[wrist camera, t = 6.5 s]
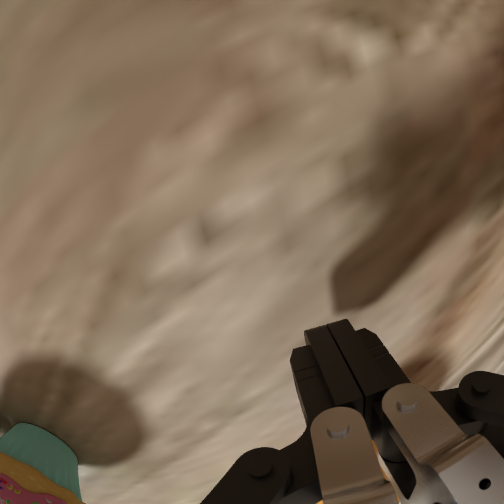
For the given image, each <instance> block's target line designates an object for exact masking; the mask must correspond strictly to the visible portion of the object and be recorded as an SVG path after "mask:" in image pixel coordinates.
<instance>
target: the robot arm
mask: <svg viewBox="0 0 504 504" xmlns="http://www.w3.org/2000/svg"><path fill="white" fill-rule="evenodd" d="M304 336H305V342H306V346H303V347H299V348H295V349H293V351H292V355H291V358H290V363H291V368H292V372H293V377H294V382H295V386H296V391H297V394H298V398H299V401H300V405H301V408H302V411H303V415H304V418H305V422H306V425H307V427H306V430H305V432H304V433H303V435H302V436H301V437H300V438H299V439H298V440H297V441H295V442H294V443H292V444H290V445H289V446H287V447H285V448H283V449H281V450H277V449H274V448H269V447H261V448H256V449H252V450H250V451H248V452H246V453H244V454H243V455H242V456H240V457H239V458H238V460H237V461H236V462H235V463H234V464H233V466H232V467H231V468H230V469H229V471H228V472H227V473H226V474H225V475H224V477H223V478H222V479H221V480H220V481H219V483H218V484H217V485H216V486H215V487H214V488H213V490H212V491H211V492H210V493H209V494H208V495H207V496H206V498H205V499H204V500H203V501H202V502H201V503H200V504H317V503H318V502H320V501H322V500H323V504H399V502H398V499H397V496H398V498H399V499H400V501H401V504H504V375H499V374H495V373H491V372H486V371H475V372H472V373H469V374H467V375H466V376H465V377H464V378H463V379H462V380H461V382H460V384H459V387H458V388H454V389H448V390H443V391H436V392H430V391H428V390H427V389H426V388H424V387H423V386H421V385H418V384H414V383H411V382H410V381H409V379H408V378H407V377H406V375H405V374H404V372H403V371H402V370H401V368H400V367H399V365H398V364H397V362H396V361H395V360H394V358H393V357H392V356H391V354H389V351H388V350H387V349H386V347H385V346H383V343H382V342H381V340H380V339H379V338H378V336H377V335H376V334H375V333H373V332H371V331H369V330H367V329H366V328H363V329H360V330H357V331H355V330H354V328H353V327H352V325H351V324H350V322H349V321H348V319H343V320H340V321H336V322H333V323H330V324H326V326H325V325H323V326H319V327H316V328H312V329H309V330H305V331H304ZM372 440H374V443H375V445H376V447H377V455H376V452H375V449H374V446H373V443H372ZM380 466H381V467H382V469H383V471H384V473H385V474H386V476H387V478H388V480H389V481H388V480H386V479H385V478H384V475H383V473H382V470H381V467H380ZM395 492H396V493H395ZM396 494H397V496H396Z"/></svg>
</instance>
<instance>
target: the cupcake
mask: <svg viewBox="0 0 504 504" xmlns="http://www.w3.org/2000/svg"><path fill="white" fill-rule="evenodd" d="M0 504H85V503H83V502H82V498H81V493H80V487H79V479H78V461H77V457H76V456H75V454H74V452H73V451H72V450H71V449H70V448H69V447H68V446H67V445H66V444H65V443H64V442H63V441H61V440H60V439H59V438H57V437H56V436H54V435H53V434H51V433H49V432H48V431H46V430H44V429H42V428H40V427H37V426H35V425H32V424H28V423H18V424H16V425H15V426H14V427H13V428H12V429H10V430H9V431H8V432H7V433H6V434H4V435H3V436H2V437H0Z"/></svg>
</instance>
